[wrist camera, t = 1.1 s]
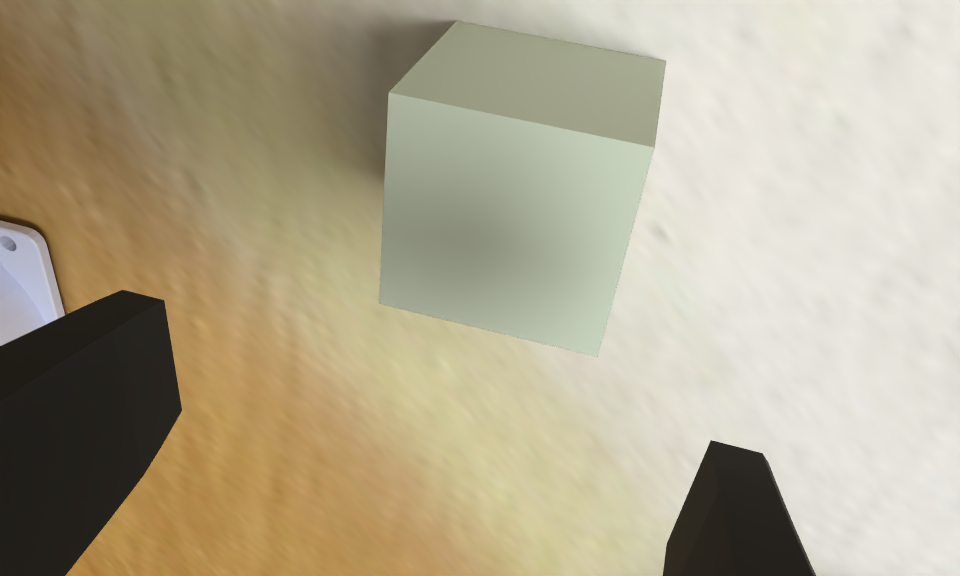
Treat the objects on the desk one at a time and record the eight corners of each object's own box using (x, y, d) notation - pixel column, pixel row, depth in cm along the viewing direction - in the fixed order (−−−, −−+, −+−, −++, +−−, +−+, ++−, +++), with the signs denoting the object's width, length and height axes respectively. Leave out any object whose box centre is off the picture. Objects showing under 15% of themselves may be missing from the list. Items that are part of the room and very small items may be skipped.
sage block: (440, 200, 19) (378, 303, 16) (458, 19, 17) (388, 92, 13) (618, 241, 19) (597, 357, 15) (665, 59, 16) (654, 147, 12)
